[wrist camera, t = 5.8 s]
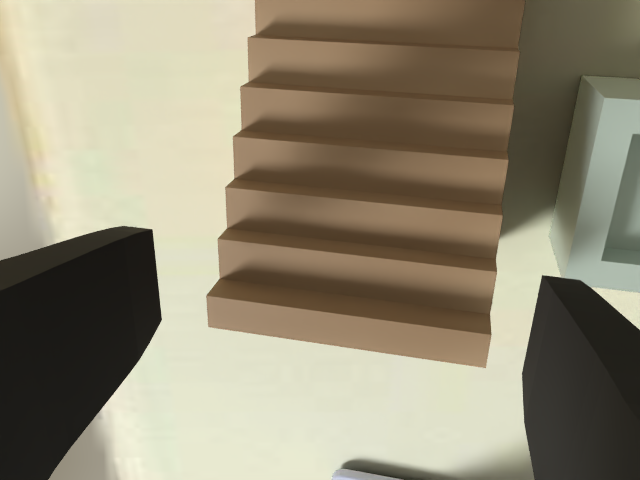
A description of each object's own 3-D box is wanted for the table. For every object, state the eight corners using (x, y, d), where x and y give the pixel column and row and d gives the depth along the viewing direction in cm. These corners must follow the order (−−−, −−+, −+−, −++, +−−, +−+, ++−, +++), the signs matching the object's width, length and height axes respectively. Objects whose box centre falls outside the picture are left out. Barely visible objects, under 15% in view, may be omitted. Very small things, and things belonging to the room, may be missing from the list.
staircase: (480, 248, 17) (485, 368, 12) (280, 225, 19) (208, 326, 13) (525, -52, 14) (559, -60, 9) (278, -57, 15) (182, -67, 10)
